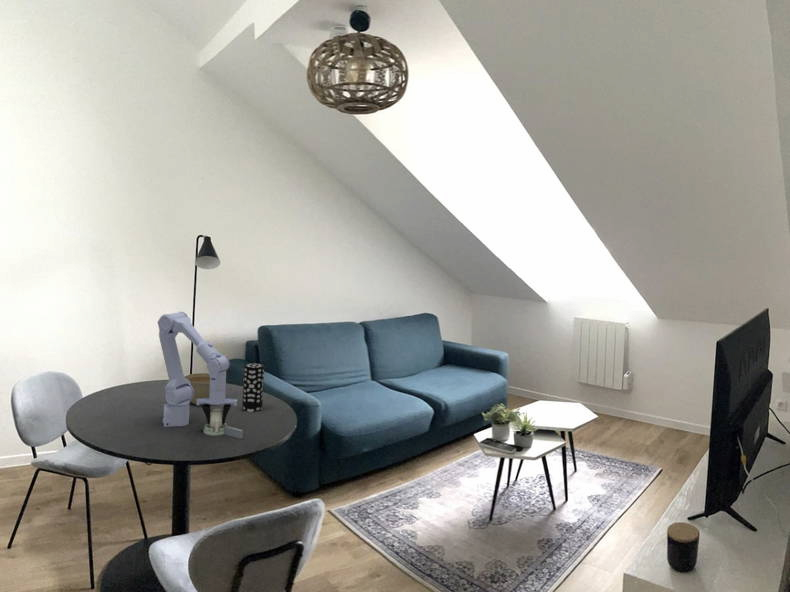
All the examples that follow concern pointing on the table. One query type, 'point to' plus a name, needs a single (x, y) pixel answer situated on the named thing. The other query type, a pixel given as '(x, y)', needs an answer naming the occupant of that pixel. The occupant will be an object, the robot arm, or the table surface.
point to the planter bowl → (199, 385)
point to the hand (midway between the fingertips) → (216, 423)
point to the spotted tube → (253, 387)
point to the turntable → (224, 431)
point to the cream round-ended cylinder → (216, 419)
